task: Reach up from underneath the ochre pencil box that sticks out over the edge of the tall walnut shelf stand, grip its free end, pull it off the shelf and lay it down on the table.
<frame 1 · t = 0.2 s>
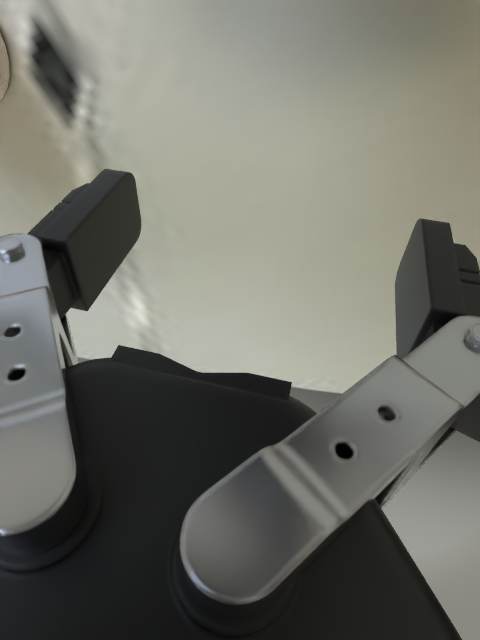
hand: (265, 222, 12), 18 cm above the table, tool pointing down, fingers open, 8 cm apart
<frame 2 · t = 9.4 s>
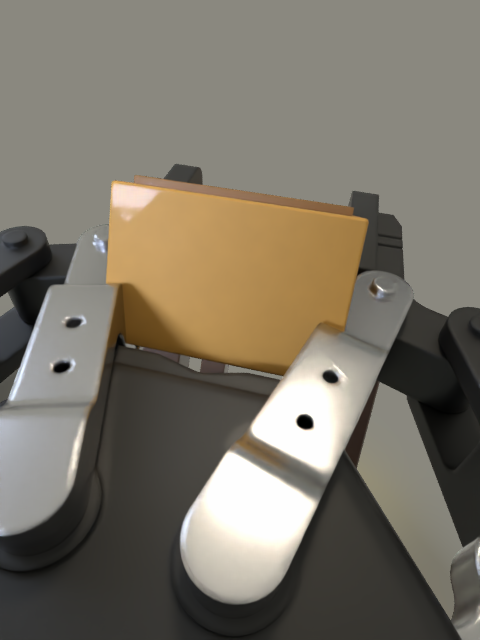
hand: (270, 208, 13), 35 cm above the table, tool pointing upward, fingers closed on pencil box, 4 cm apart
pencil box: (274, 274, 18), point 32 cm above the table, touching gripper, stand
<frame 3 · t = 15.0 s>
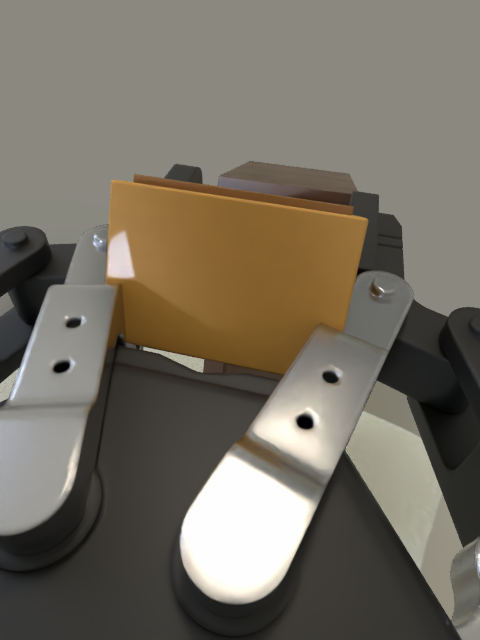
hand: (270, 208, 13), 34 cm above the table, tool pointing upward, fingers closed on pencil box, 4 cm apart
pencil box: (274, 274, 18), point 30 cm above the table, tilted 10°, touching gripper
stand: (250, 458, 50), on the table
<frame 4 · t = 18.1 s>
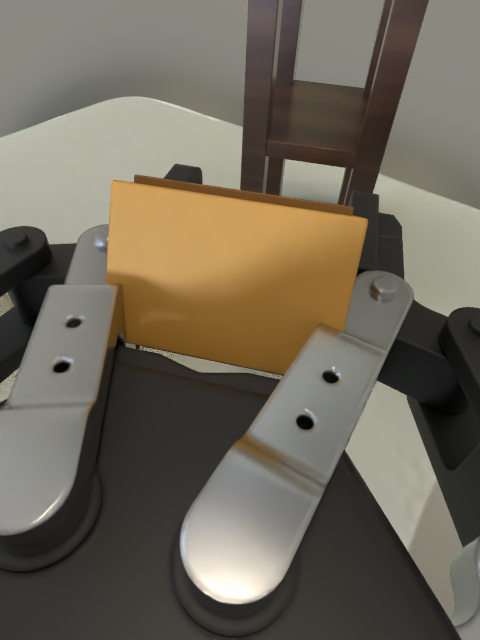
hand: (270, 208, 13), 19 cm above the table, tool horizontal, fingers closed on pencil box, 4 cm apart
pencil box: (274, 274, 18), point 14 cm above the table, tilted 30°, touching gripper
stand: (299, 238, 44), on the table
when the fingers open (11 cm above the table, at t = 20.7 s): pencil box drops 5 cm, on the table.
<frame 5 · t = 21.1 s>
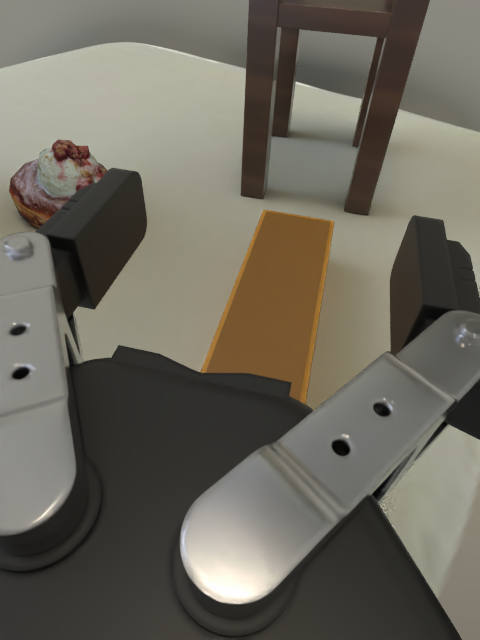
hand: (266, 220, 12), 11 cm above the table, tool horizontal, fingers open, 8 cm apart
pastry: (71, 207, 32), on the table
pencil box: (259, 381, 21), on the table
stand: (313, 165, 38), on the table
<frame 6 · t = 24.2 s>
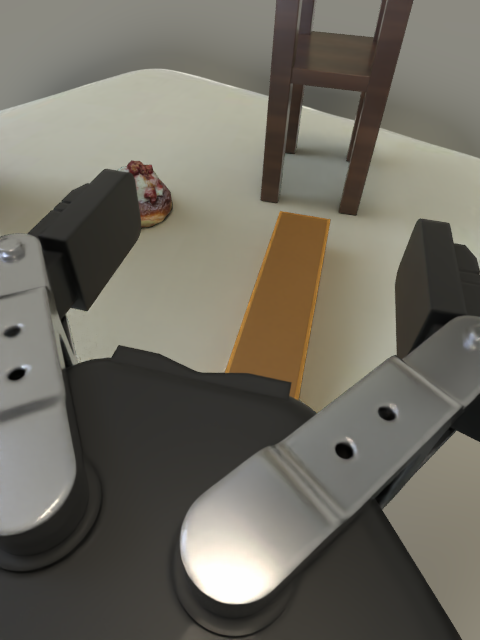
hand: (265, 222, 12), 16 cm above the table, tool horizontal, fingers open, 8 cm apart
pastry: (135, 209, 43), on the table
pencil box: (279, 325, 32), on the table
stand: (315, 177, 49), on the table
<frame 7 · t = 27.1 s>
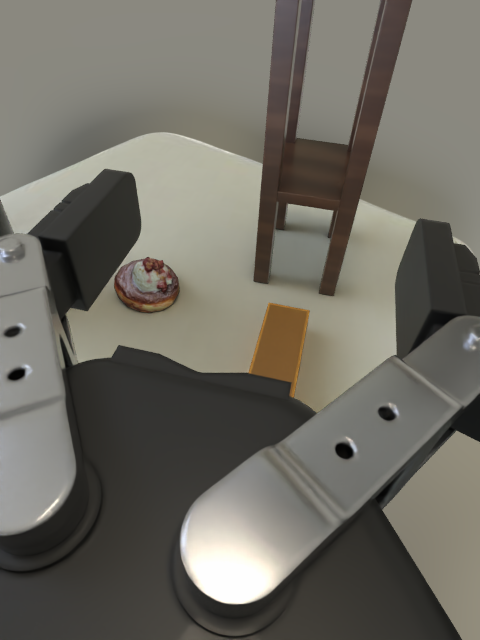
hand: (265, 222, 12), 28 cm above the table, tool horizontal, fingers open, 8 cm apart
pastry: (148, 292, 51), on the table
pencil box: (267, 406, 41), on the table
stand: (300, 255, 57), on the table
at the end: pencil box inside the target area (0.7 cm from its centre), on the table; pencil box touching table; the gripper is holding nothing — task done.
